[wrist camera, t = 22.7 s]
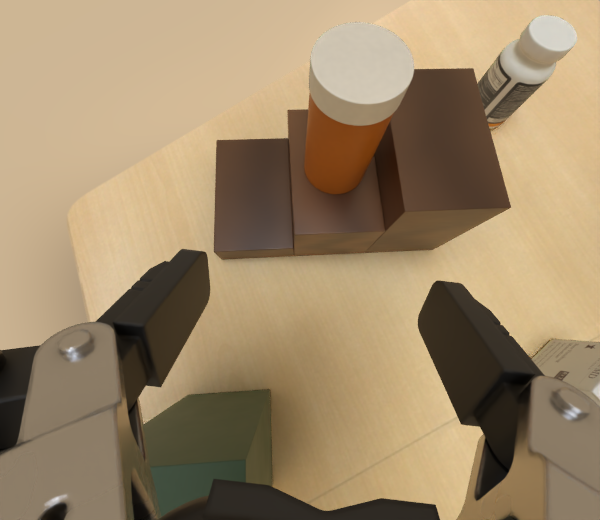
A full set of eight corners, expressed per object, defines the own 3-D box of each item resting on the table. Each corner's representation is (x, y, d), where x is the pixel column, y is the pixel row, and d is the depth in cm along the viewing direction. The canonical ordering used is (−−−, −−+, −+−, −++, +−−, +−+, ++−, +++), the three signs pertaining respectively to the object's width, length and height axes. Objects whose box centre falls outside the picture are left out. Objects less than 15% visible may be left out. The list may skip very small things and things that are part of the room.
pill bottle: (507, 106, 35) (589, 23, 26) (495, 138, 34) (576, 63, 24) (468, 89, 36) (533, 2, 26) (454, 120, 34) (518, 40, 25)
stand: (183, 491, 24) (35, 717, 10) (187, 394, 25) (69, 473, 12) (272, 484, 24) (247, 693, 10) (270, 389, 26) (245, 459, 12)
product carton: (550, 337, 28) (639, 341, 21) (595, 387, 27) (705, 410, 20) (511, 374, 27) (591, 391, 20) (557, 427, 26) (659, 466, 19)
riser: (221, 259, 29) (180, 220, 18) (223, 156, 32) (188, 72, 21) (433, 249, 30) (511, 207, 19) (414, 151, 33) (473, 68, 22)
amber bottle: (305, 196, 23) (314, 104, 14) (301, 141, 25) (307, 21, 15) (369, 194, 24) (422, 102, 14) (361, 139, 25) (406, 21, 15)
